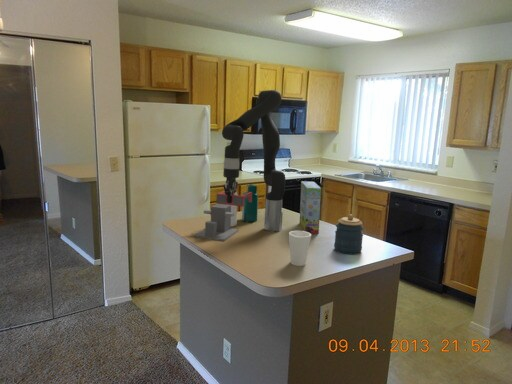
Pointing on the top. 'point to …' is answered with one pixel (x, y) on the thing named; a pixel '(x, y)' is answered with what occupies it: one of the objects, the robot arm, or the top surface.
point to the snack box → (310, 207)
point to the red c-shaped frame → (233, 199)
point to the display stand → (218, 223)
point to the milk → (234, 210)
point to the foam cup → (299, 247)
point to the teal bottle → (250, 205)
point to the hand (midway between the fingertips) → (230, 202)
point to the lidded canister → (348, 235)
